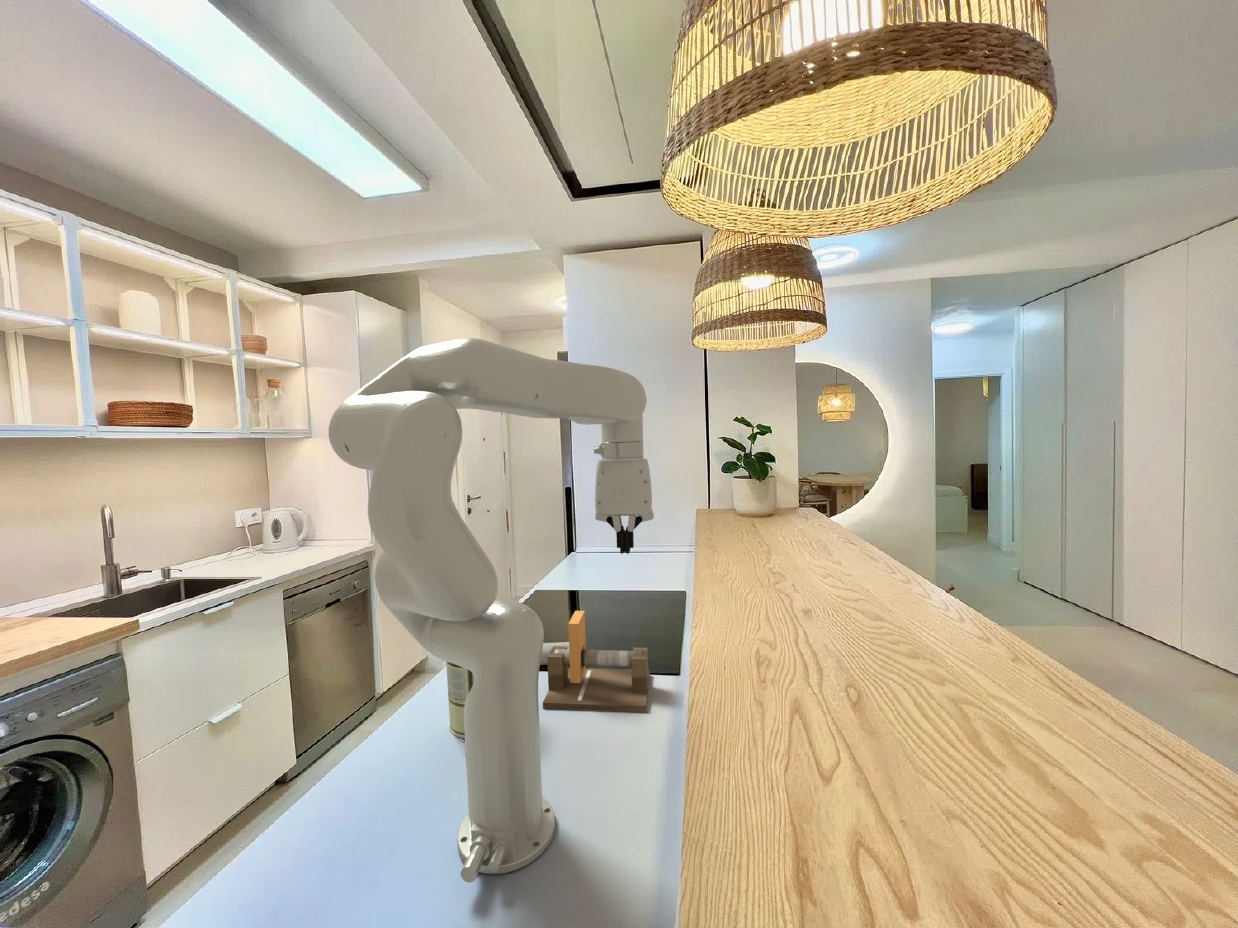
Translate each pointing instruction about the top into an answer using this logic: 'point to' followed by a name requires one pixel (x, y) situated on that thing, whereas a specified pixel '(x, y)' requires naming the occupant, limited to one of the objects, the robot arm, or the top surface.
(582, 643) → the orange flat block
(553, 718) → the top surface
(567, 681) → the pipe stand
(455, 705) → the coffee can
